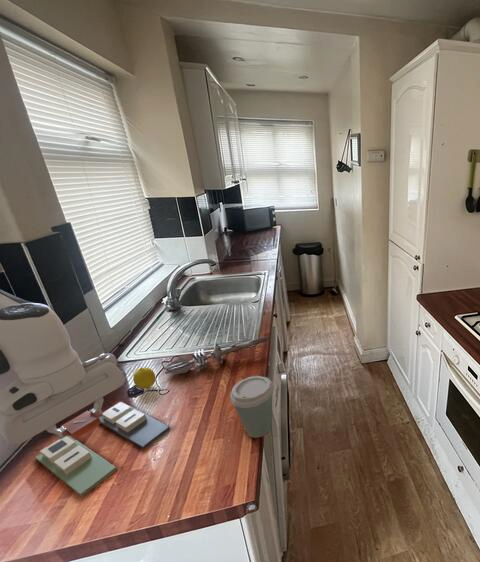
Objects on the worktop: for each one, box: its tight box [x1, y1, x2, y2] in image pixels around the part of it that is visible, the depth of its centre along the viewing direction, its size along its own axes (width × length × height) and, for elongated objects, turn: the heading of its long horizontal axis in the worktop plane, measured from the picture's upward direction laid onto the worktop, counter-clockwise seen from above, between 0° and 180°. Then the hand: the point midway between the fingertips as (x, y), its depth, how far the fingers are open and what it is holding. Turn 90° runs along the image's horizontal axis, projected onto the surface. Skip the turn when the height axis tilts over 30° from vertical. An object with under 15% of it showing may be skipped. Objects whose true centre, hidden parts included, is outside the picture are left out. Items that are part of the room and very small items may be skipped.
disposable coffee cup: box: [229, 375, 275, 439], centre depth 81 cm, size 11×11×15 cm
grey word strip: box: [99, 401, 171, 450], centre depth 86 cm, size 22×7×3 cm, turn 65°
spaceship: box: [163, 336, 270, 375], centre depth 110 cm, size 8×35×8 cm
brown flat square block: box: [60, 410, 102, 440], centre depth 69 cm, size 5×5×2 cm
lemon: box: [132, 366, 156, 390], centre depth 99 cm, size 6×6×8 cm
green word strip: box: [34, 435, 118, 498], centre depth 75 cm, size 22×7×3 cm, turn 65°
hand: (81, 425), depth 69 cm, fingers closed on brown flat square block, 5 cm apart
